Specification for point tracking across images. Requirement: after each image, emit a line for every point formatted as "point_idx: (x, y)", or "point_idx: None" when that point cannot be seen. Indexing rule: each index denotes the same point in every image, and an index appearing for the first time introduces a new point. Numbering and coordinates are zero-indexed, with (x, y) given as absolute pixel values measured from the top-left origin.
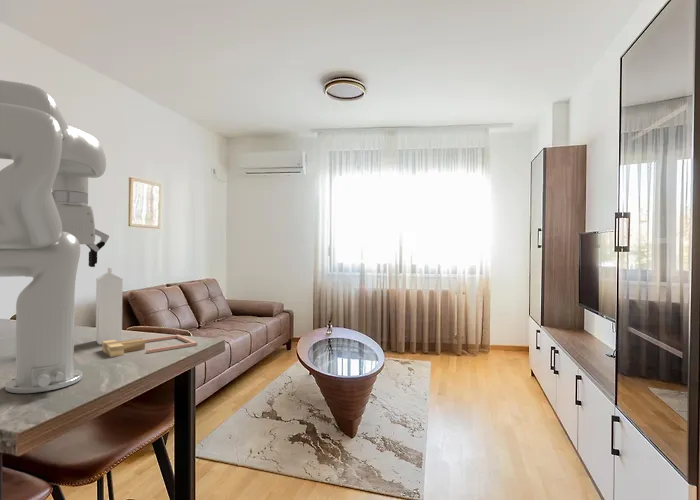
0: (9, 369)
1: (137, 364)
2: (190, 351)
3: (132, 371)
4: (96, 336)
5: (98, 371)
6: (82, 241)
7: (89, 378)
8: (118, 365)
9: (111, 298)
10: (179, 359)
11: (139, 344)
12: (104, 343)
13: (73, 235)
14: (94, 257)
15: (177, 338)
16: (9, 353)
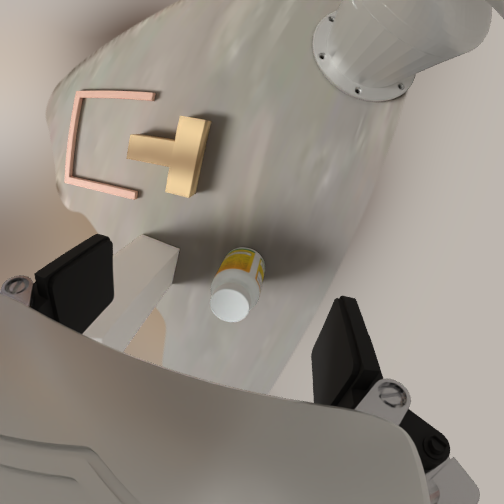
0: (365, 195)
1: (211, 32)
2: (109, 55)
3: (242, 3)
4: (169, 280)
5: (279, 42)
6: (33, 328)
7: (308, 20)
8: (236, 50)
9: None
10: (152, 17)
11: (143, 135)
12: (193, 176)
13: (77, 453)
14: (64, 254)
15: (72, 171)
16: (309, 313)
